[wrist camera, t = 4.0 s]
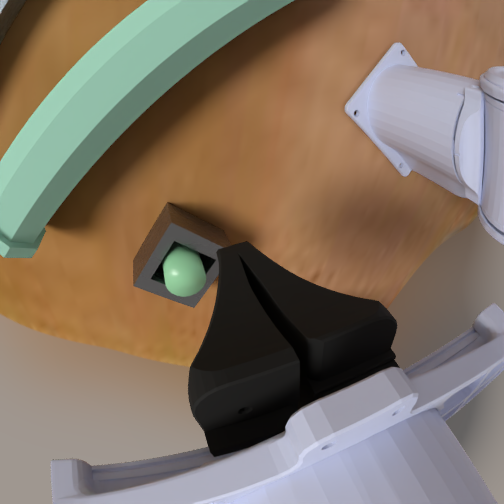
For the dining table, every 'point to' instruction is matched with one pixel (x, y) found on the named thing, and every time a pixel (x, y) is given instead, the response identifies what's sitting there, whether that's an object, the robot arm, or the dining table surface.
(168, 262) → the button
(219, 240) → the grey hollow square block
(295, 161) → the dining table surface
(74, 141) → the green faceted column
